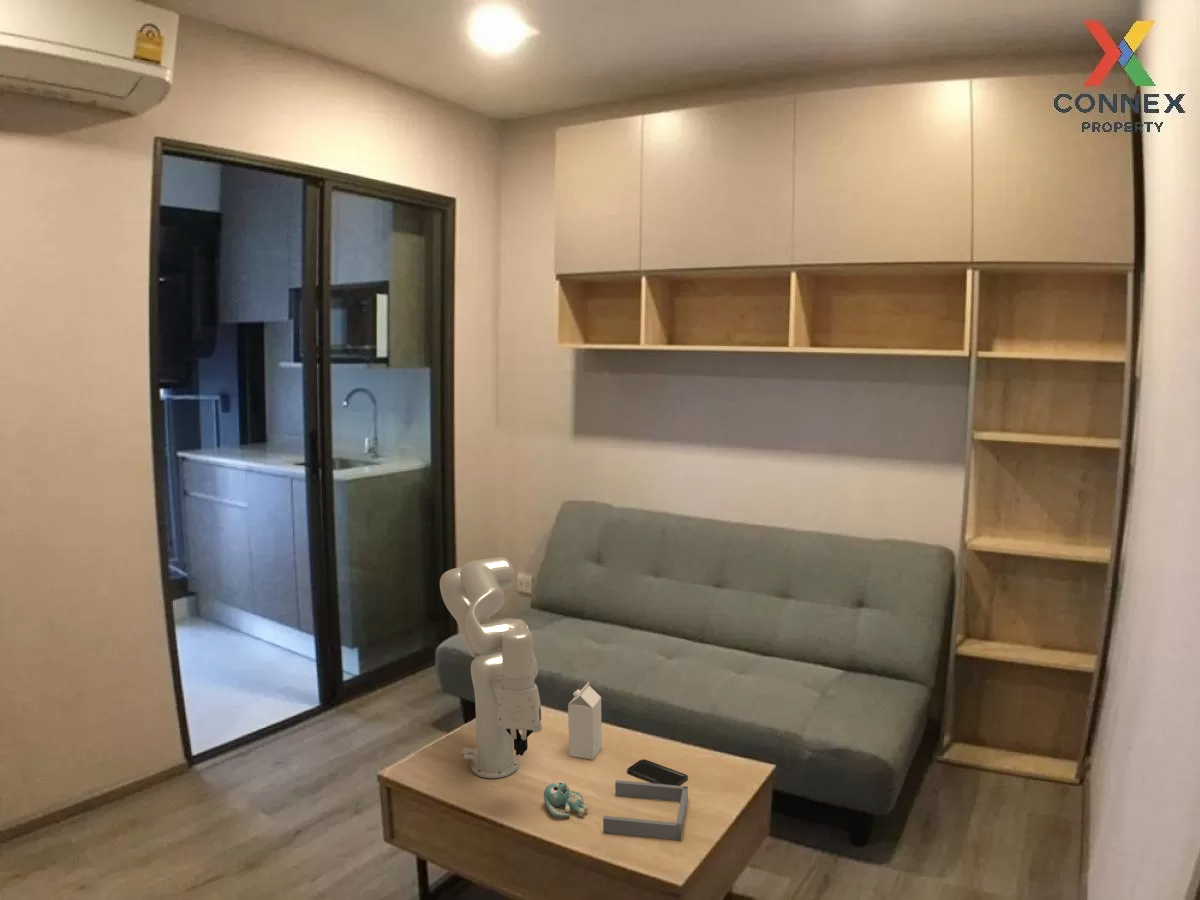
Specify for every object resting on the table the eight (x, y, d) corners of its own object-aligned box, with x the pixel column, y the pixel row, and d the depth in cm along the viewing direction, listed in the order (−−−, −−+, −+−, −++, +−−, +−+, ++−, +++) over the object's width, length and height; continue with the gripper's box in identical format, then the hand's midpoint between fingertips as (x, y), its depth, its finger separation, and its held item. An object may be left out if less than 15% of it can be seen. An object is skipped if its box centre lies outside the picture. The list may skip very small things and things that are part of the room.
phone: (642, 758, 233) (689, 775, 224) (642, 762, 233) (689, 779, 224) (624, 770, 227) (672, 788, 217) (625, 774, 227) (672, 792, 218)
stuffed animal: (576, 807, 201) (535, 784, 207) (571, 833, 203) (531, 810, 209) (600, 786, 210) (560, 765, 216) (596, 811, 212) (556, 789, 218)
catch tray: (603, 832, 200) (603, 818, 200) (616, 793, 217) (616, 780, 216) (681, 840, 197) (681, 826, 196) (688, 799, 213) (688, 786, 213)
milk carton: (601, 748, 240) (601, 683, 237) (593, 760, 233) (592, 693, 231) (577, 744, 242) (576, 680, 240) (568, 756, 236) (567, 690, 233)
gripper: (484, 684, 206) (486, 758, 208) (544, 688, 203) (546, 762, 205) (493, 673, 213) (496, 743, 215) (552, 676, 210) (554, 748, 213)
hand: (520, 752), depth 210 cm, fingers closed
